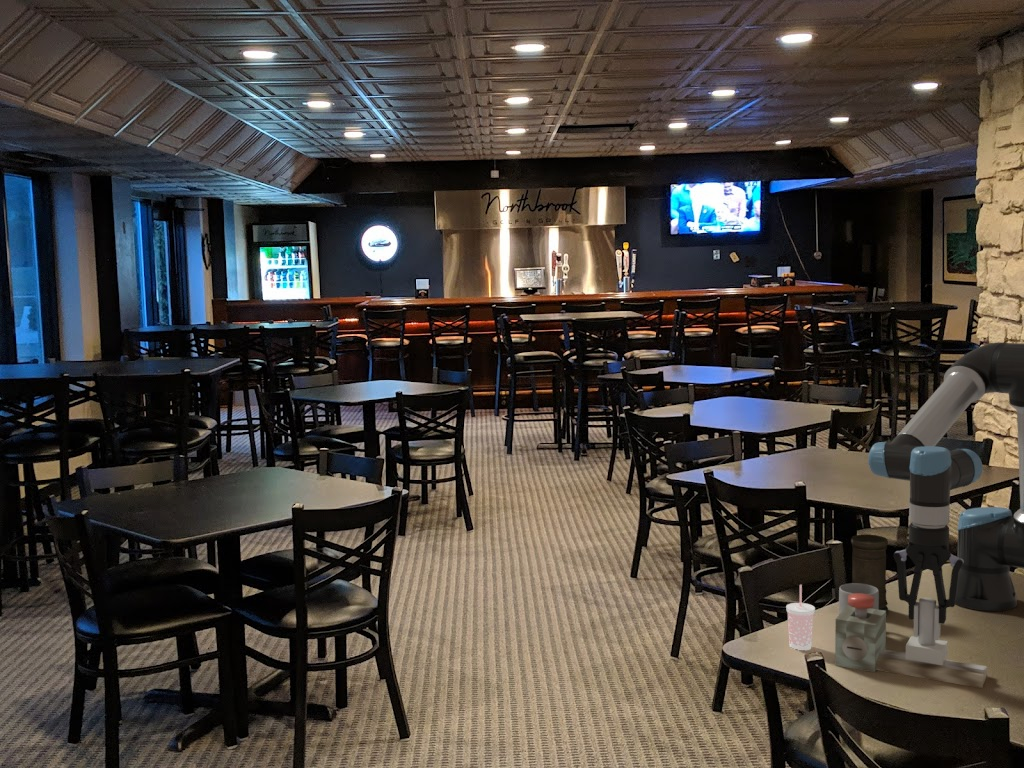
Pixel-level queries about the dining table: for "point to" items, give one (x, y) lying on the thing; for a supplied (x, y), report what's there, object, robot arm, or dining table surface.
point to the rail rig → (891, 652)
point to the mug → (857, 588)
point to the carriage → (926, 637)
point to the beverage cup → (800, 624)
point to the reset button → (861, 603)
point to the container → (870, 564)
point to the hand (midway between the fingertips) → (926, 636)
